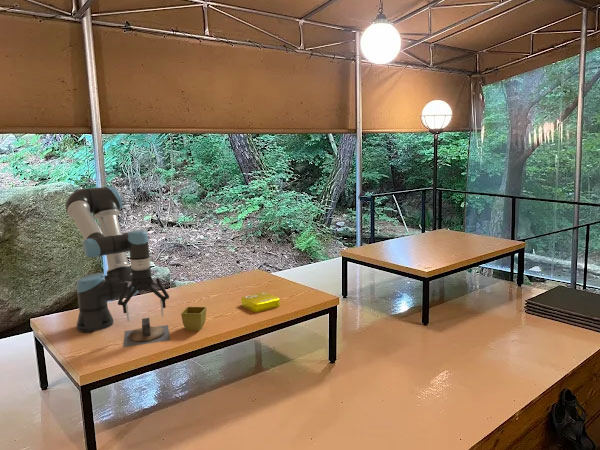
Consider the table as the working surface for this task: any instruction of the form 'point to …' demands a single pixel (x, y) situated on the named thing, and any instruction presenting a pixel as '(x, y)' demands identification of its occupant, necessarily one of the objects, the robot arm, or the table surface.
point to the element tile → (260, 302)
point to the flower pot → (194, 318)
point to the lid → (146, 332)
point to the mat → (164, 338)
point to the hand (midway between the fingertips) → (145, 317)
